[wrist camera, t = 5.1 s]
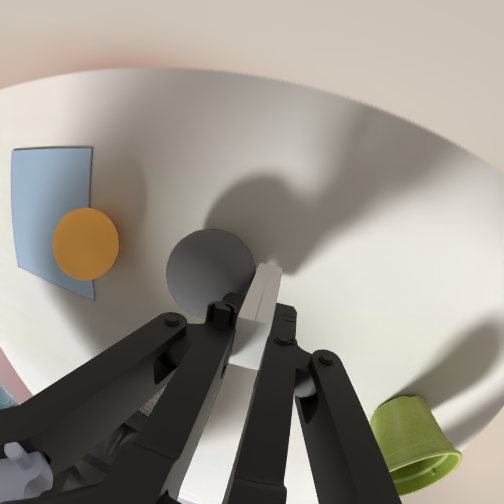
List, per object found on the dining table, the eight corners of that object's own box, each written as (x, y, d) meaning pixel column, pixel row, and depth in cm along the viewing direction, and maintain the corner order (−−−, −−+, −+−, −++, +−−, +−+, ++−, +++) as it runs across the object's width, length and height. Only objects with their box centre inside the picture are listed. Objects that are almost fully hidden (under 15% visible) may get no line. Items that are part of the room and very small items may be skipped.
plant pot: (448, 406, 21) (469, 466, 13) (377, 445, 24) (383, 505, 16) (422, 366, 20) (451, 440, 12) (337, 414, 23) (339, 489, 15)
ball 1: (143, 253, 21) (100, 281, 16) (100, 273, 22) (60, 299, 17) (115, 190, 19) (66, 202, 14) (75, 217, 21) (31, 234, 16)
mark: (92, 148, 19) (91, 148, 19) (94, 299, 23) (93, 300, 23) (13, 150, 20) (11, 150, 20) (19, 266, 25) (18, 266, 25)
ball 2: (278, 313, 16) (183, 324, 13) (236, 313, 20) (162, 321, 18) (267, 219, 17) (175, 215, 14) (229, 241, 21) (157, 240, 19)
